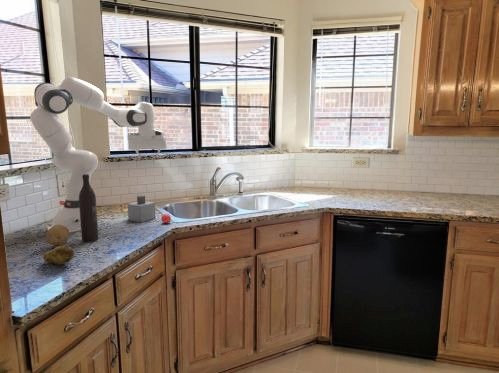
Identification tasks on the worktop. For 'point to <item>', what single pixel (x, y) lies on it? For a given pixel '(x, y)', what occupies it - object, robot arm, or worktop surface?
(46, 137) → the robot arm
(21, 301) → the worktop surface
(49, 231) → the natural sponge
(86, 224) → the wine bottle
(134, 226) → the worktop surface
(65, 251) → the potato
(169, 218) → the ball
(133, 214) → the cover
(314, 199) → the worktop surface
